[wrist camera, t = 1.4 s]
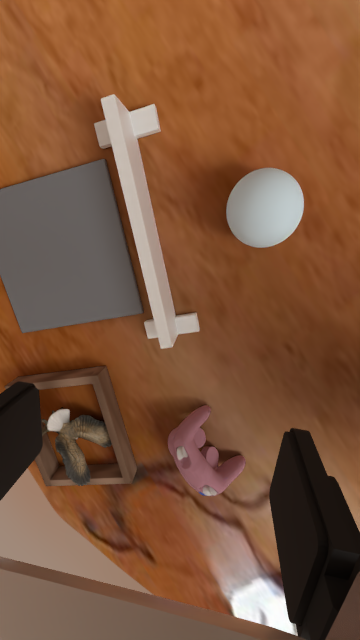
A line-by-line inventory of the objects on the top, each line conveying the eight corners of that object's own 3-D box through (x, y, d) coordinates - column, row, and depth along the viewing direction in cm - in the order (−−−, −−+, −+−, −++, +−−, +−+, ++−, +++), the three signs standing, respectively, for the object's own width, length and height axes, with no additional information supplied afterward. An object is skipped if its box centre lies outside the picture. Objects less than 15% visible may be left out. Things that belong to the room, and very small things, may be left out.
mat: (105, 159, 29) (103, 158, 28) (143, 312, 33) (142, 313, 32) (-26, 198, 32) (-29, 197, 31) (24, 331, 36) (22, 333, 36)
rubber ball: (291, 167, 26) (309, 149, 20) (297, 238, 28) (316, 240, 22) (221, 184, 28) (219, 172, 22) (231, 251, 29) (232, 257, 23)
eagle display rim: (106, 365, 36) (97, 375, 33) (137, 468, 40) (131, 483, 38) (18, 376, 39) (4, 386, 36) (56, 471, 43) (46, 486, 40)
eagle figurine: (42, 440, 40) (92, 481, 38) (13, 448, 33) (73, 499, 32) (77, 394, 42) (126, 431, 40) (57, 392, 35) (115, 437, 33)
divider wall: (156, 107, 27) (142, 84, 22) (199, 329, 32) (195, 344, 28) (97, 126, 28) (74, 107, 24) (149, 336, 34) (138, 351, 29)
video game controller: (184, 404, 38) (153, 447, 33) (209, 400, 34) (180, 447, 30) (223, 459, 39) (199, 508, 34) (250, 461, 36) (229, 514, 31)
